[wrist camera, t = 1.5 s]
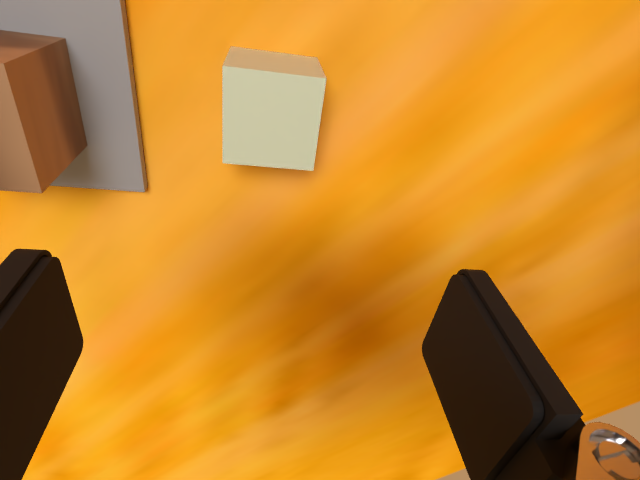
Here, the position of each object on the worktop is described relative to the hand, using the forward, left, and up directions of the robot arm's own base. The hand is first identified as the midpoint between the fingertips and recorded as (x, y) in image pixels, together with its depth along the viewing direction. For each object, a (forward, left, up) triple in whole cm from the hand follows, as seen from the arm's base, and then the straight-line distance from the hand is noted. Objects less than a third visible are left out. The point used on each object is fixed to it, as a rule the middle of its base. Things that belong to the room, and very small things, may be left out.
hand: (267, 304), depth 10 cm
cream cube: (0, 0, -18) cm, 18 cm away
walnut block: (+14, +1, -17) cm, 22 cm away
